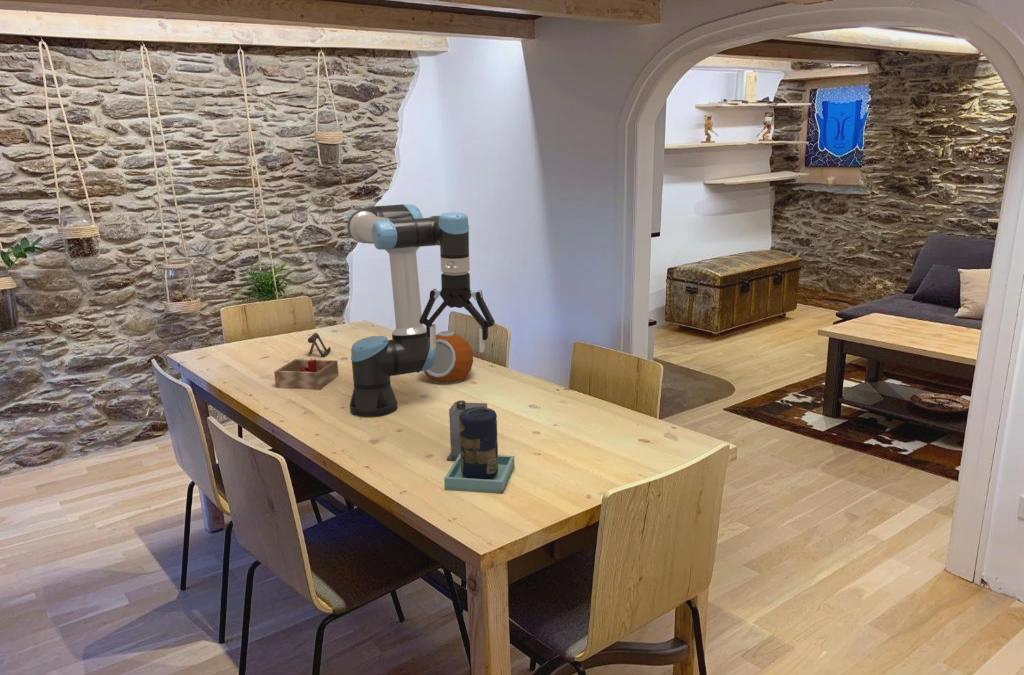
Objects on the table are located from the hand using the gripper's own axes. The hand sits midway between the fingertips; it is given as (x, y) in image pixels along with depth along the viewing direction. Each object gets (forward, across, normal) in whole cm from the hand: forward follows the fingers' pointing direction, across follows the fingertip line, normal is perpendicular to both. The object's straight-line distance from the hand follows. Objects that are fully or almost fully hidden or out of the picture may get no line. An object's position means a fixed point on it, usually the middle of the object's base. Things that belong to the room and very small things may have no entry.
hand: (457, 350), depth 201 cm
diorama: (+31, -69, +53) cm, 92 cm away
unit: (+28, +4, -5) cm, 29 cm away
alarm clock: (+31, -21, +61) cm, 72 cm away
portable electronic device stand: (+32, -83, +86) cm, 124 cm away
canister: (+27, +10, -18) cm, 34 cm away
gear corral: (+31, -71, +51) cm, 93 cm away
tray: (+28, +10, -18) cm, 35 cm away
